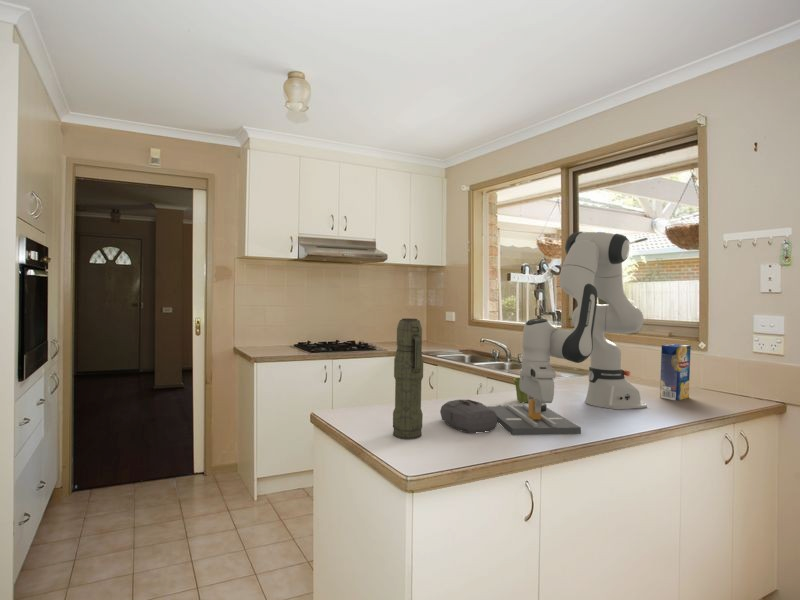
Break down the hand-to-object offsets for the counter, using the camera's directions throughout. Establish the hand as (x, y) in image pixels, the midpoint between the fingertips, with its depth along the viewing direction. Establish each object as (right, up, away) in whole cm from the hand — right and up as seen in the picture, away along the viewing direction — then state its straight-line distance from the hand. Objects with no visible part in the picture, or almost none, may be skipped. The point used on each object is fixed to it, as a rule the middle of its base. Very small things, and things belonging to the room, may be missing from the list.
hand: (534, 410), depth 164 cm
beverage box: (+72, -5, +47) cm, 86 cm away
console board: (-1, -5, +4) cm, 6 cm away
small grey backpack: (-23, -5, -1) cm, 23 cm away
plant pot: (+6, -4, +35) cm, 36 cm away
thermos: (-42, -5, -13) cm, 44 cm away
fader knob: (0, -3, 0) cm, 3 cm away
